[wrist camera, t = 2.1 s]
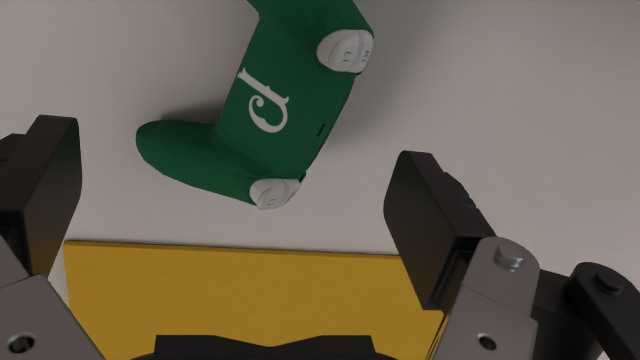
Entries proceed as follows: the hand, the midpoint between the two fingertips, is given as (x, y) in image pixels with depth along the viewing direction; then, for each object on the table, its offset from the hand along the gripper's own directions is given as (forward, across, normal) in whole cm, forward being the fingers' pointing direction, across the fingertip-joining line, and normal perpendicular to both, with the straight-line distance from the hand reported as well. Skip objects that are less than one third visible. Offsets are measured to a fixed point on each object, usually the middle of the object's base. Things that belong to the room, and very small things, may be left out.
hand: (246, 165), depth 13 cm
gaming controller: (+7, 0, 0) cm, 7 cm away
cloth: (+7, -3, +16) cm, 18 cm away
